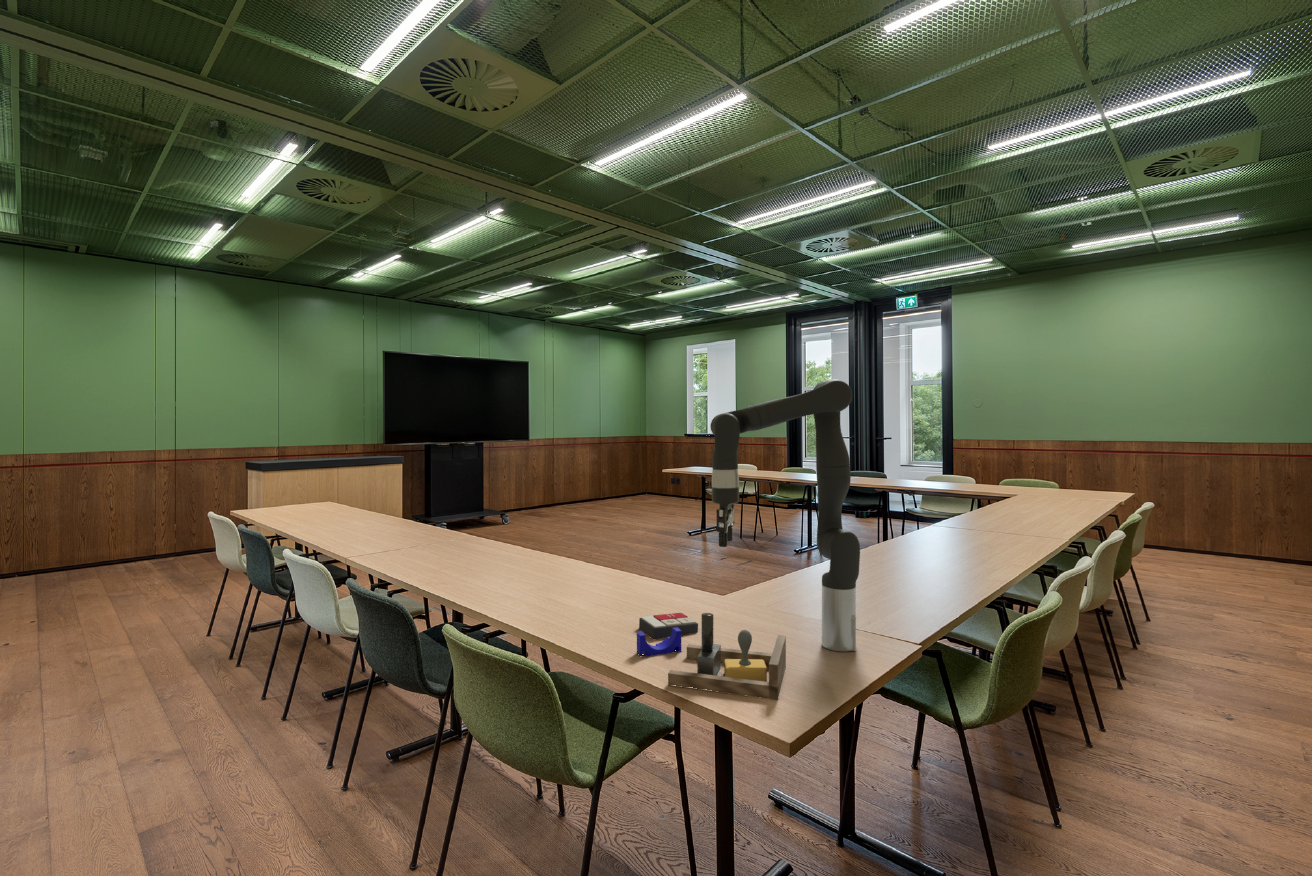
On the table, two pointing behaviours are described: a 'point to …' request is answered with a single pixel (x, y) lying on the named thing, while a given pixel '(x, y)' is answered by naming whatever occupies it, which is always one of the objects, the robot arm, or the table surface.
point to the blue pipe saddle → (659, 644)
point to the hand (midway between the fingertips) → (725, 543)
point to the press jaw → (708, 649)
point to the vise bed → (736, 685)
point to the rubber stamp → (745, 662)
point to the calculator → (667, 625)
